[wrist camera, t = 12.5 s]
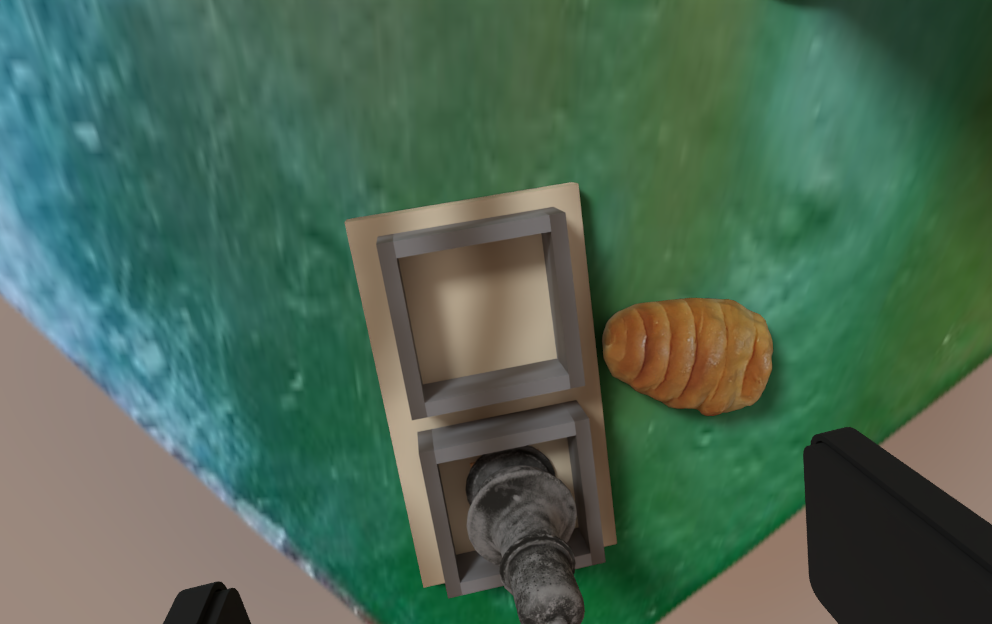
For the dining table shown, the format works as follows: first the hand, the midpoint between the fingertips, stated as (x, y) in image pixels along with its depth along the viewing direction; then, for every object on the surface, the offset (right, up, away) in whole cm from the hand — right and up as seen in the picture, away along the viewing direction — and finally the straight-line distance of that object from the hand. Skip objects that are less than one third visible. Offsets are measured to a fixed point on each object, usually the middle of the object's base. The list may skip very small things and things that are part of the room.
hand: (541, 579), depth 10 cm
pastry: (+10, +2, +28) cm, 30 cm away
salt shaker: (0, -6, +27) cm, 27 cm away
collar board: (-1, 0, +26) cm, 26 cm away
